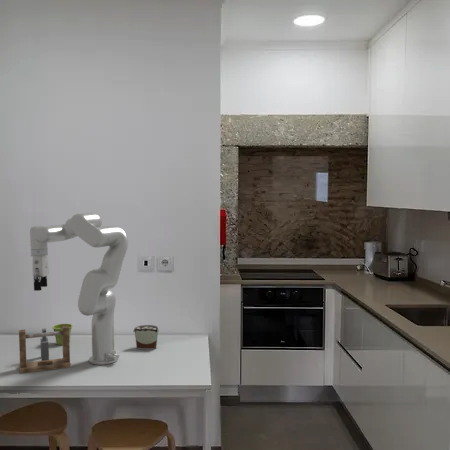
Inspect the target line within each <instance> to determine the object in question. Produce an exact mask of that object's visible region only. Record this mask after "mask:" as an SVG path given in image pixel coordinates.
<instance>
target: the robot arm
mask: <svg viewBox="0 0 450 450" xmlns="http://www.w3.org/2000/svg"><path fill="white" fill-rule="evenodd" d="M76 237H78V238H80V239H81V240H82V241H83V242H84V243H86V244H87V245H89V246H91V247H92V248H105V247H108V249H107V250H106V252H105V254H104V255H103V257H102V262H101V265H100V266H99V267H98V268H96V269H92V270H89V271H87V273H86V274H85V275H84V278H83V280H82V283H81V288H80V292H79V295H78V298H77V299H78V300H77V308H78V311H79V312H80V314H81V315H83V316H87V317H88V316H92V318H91V350H92V351H91V354H92V355H91V356H89V358H88V362H89V363H90V364H92V365H98V366H99V365H101V366H102V365H105V366H106V365H110V364H113V363H115V362H117V361H118V360H119V358H120V355H118V354H116V353H117V351H116V350H115V321H114V320H115V309H116V303H117V302H116V300H117V299H116V294H114V292H113V291H112V290H111V289H114V288H115V287H116V286H117V284H118V282H119V278H120V274H121V271H122V266H123V262H124V260H125V257H126V255H127V254H126V253H127V250H128V247H129V240H128V236H127V233H126V231H125V230H124V229H123V228H122V227H120V226H116V225H107V226H102V218H101V217H100V215H98V214H97V213H95V212H94V213H93V212H86V213H83V212H82V213H76V214H73V215H72V217H70V218H68V219H67V220H66V221H65V223H64V224H58V225H47V226H44V225H36V226H31V227H30V228H29V239H30V241H29V242H30V243H29V244H30V245H29V246H30V257H32V276H33V290H34V292H35V291H36V292H37V291H38V292H39V291H42V288H43V287H44V288H45V287H48V275H49V273H50V272H49V271H50V270H49V260H48V255H49V253H48V252H49V251H48V250H49V249H48V248H49V246H48V244H49V243H56V242H63V241H67V240H71V239H74V238H76Z"/></svg>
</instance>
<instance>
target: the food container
mask: <svg viewBox="0 0 450 450" xmlns="http://www.w3.org/2000/svg"><path fill="white" fill-rule="evenodd" d="M133 328H134V329H133V333H134V336H135V337H134V338H135V344H136V349H139V350H140V349H141V350H143V349H144V350H146V349H147V350H157V345H158V344H157V343H158V334H159V333H160V329H159V327H158V326H157V325H154V324H142V325H137V326H135V327H133Z"/></svg>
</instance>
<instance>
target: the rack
mask: <svg viewBox="0 0 450 450" xmlns="http://www.w3.org/2000/svg"><path fill="white" fill-rule="evenodd" d="M56 335H62V337H63V345H62V358H52V359H49V360H43V361H42V360H34V361H27V345H26V343H27V341H26V339H34V338H42V337H46V338H47V337H55V336H56ZM18 340H19V341H18V345H19V370H20V371H19V373H20V374H27V373H33V372H34V373H35V372H42V371H50V370H57V369H67V368H71V356H70V355H71V354H70V353H71V352H70V348H71V347H70V343H69V326H62V331H57V332H54V331H50V332H47V331H46V333H42V332H39V333H29V334H26V329H19V330H18Z"/></svg>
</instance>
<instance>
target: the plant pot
mask: <svg viewBox="0 0 450 450" xmlns="http://www.w3.org/2000/svg"><path fill="white" fill-rule="evenodd" d="M62 326H69V344H70V341H71V335H72V333H71V332H72V328H73V324H71V323H58V324H55V325H53V326H52V329H53V332H57V331H62ZM54 337H55V342H56V345H58V346H63V337H62V335H56V336H54Z"/></svg>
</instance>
